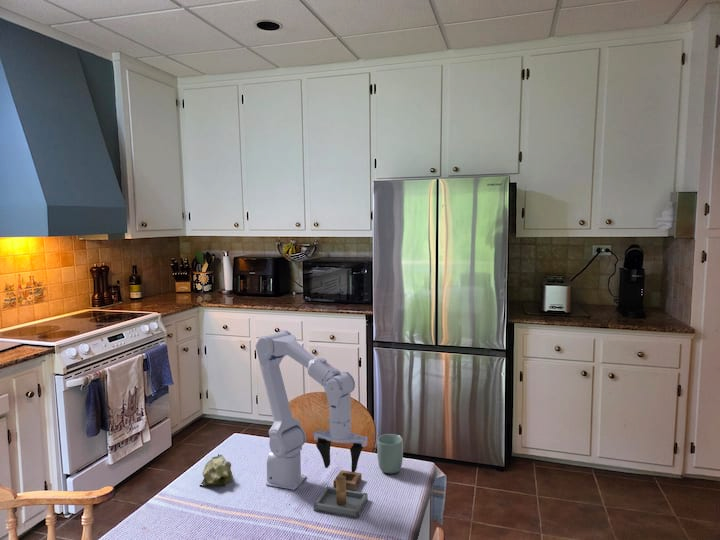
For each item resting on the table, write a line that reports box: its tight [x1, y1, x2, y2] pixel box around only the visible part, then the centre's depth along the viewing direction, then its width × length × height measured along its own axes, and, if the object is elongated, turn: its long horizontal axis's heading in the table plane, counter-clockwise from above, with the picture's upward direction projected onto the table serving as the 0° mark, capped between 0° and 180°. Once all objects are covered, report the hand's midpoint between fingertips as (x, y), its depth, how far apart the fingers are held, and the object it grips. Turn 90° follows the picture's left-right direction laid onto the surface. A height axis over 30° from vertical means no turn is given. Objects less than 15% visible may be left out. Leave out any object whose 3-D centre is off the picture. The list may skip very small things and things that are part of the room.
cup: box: [376, 433, 404, 475], centre depth 147 cm, size 8×8×10 cm
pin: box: [335, 475, 346, 506], centre depth 129 cm, size 3×3×7 cm
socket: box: [332, 469, 362, 491], centre depth 140 cm, size 6×6×2 cm
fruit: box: [200, 453, 234, 487], centre depth 141 cm, size 9×9×8 cm
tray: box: [313, 486, 368, 519], centre depth 129 cm, size 12×9×2 cm
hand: (340, 468), depth 129 cm, fingers open, 7 cm apart
